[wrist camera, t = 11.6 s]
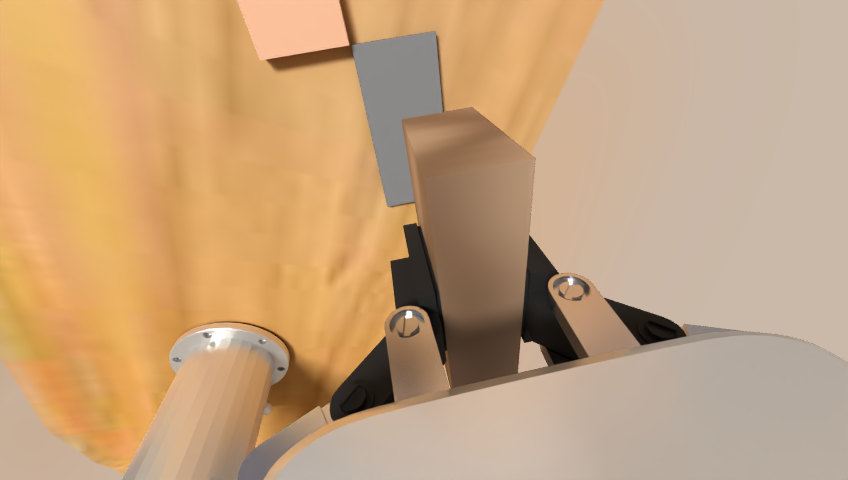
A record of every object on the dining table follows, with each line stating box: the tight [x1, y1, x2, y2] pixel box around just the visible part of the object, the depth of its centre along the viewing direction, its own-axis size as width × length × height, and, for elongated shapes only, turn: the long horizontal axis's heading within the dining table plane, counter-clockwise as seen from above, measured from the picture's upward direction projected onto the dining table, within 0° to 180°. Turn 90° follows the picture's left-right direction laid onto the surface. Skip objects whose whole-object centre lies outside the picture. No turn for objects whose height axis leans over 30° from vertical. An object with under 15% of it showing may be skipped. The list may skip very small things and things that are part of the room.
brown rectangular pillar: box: [401, 107, 536, 388], centre depth 12 cm, size 2×10×5 cm, turn 7°
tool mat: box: [351, 31, 443, 207], centre depth 26 cm, size 13×6×1 cm, turn 7°
